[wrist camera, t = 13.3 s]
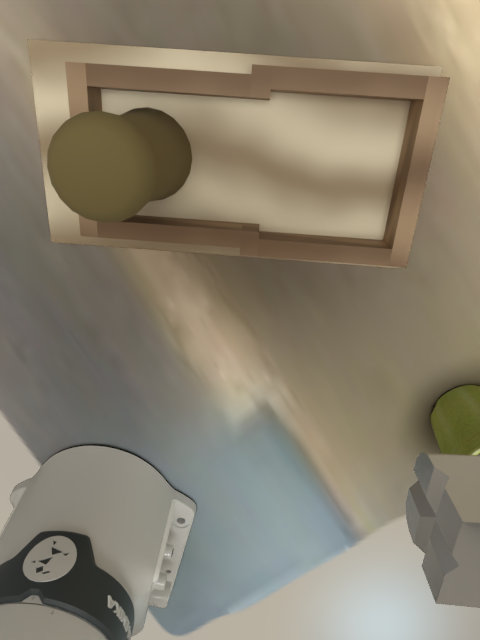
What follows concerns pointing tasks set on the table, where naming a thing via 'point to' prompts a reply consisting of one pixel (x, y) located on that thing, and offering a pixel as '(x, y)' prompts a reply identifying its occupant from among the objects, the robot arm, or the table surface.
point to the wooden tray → (257, 149)
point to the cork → (118, 162)
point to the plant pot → (458, 421)
